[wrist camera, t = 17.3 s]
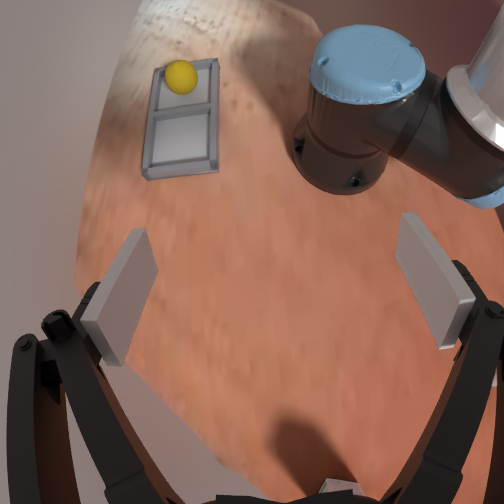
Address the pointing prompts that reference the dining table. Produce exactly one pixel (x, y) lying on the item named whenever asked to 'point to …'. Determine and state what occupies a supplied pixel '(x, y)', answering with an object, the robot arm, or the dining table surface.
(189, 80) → the lemon
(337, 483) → the syrup box
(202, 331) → the dining table surface
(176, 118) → the grey divided tray
